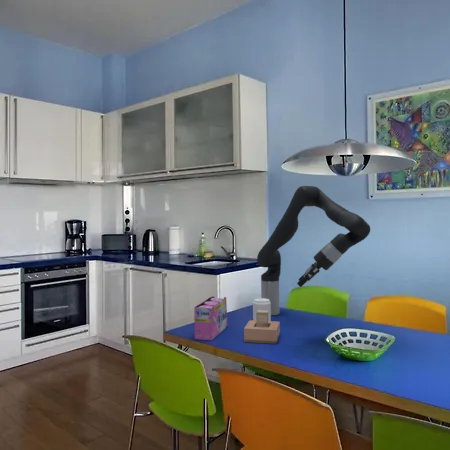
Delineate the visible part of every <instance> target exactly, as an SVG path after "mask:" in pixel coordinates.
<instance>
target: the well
mask: <svg viewBox="0 0 450 450" xmlns="http://www.w3.org/2000/svg"><path fill="white" fill-rule="evenodd" d="M280 323H281V322H280V321H277V320H276V321H274V320H273V321H272V320H271V321H268V327H256V321H254V320H253V319H252V320H249V321H248V322H247V324H246V325H245V326H244V328H243V340H244V341H243V342H244V343H256V344H271V345H272V344H274V345H276V344H278V342H279V341H278V340H279V338H280V335H281V334H280V333H281V331H280V330H281V327H280V326H281V325H280Z"/></svg>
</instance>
